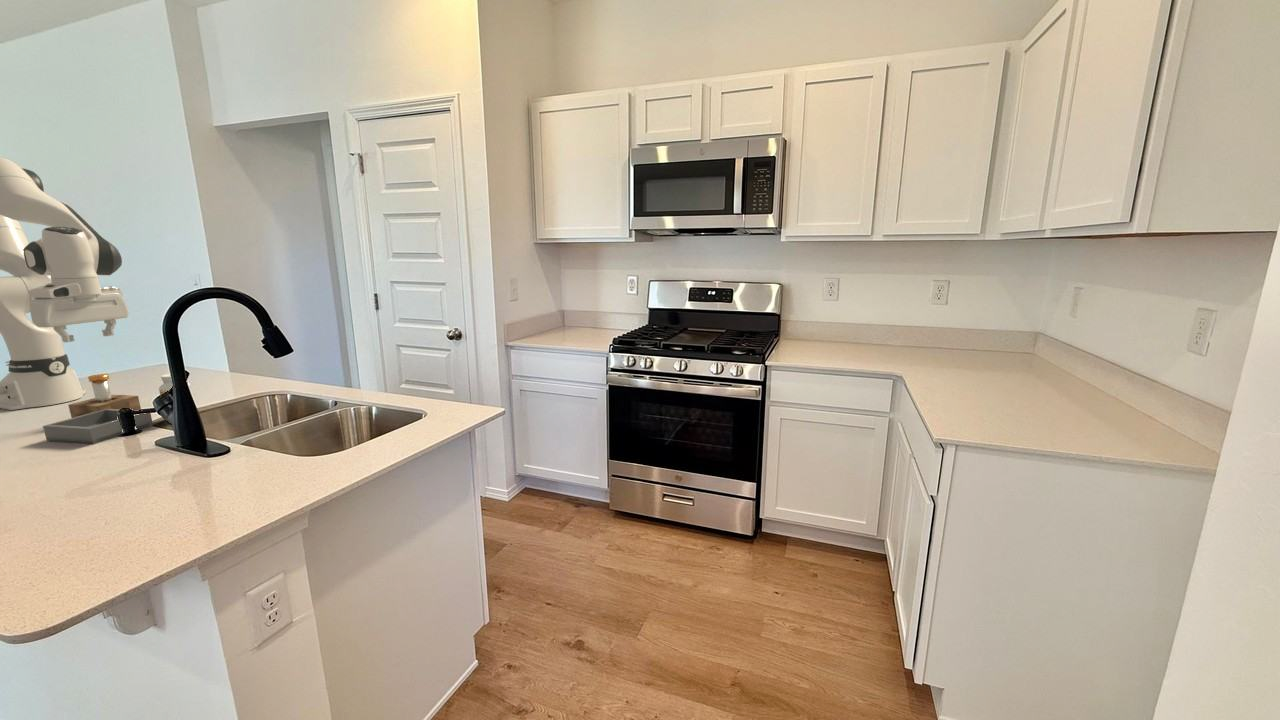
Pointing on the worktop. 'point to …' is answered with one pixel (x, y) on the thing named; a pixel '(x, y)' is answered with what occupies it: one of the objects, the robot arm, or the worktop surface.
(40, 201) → the robot arm
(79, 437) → the tray
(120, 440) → the worktop surface
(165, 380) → the supplement bottle
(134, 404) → the socket block
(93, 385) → the corked glass vial
